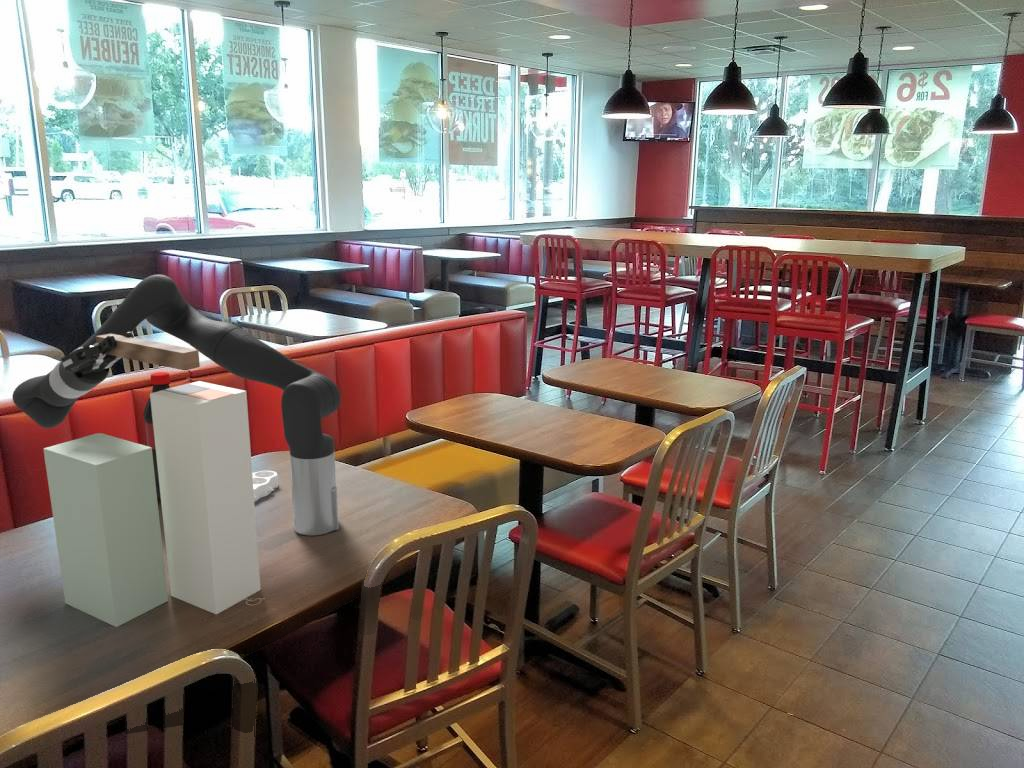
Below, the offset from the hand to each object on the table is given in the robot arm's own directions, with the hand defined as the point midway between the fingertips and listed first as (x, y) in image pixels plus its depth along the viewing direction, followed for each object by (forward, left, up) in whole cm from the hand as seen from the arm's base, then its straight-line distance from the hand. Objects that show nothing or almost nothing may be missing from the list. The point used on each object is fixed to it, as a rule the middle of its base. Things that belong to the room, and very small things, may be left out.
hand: (122, 338), depth 143 cm
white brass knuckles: (-16, -33, -46) cm, 59 cm away
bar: (-4, +5, -3) cm, 7 cm away
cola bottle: (0, -35, -45) cm, 57 cm away
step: (+3, +13, -45) cm, 47 cm away
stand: (-13, +14, -45) cm, 49 cm away
